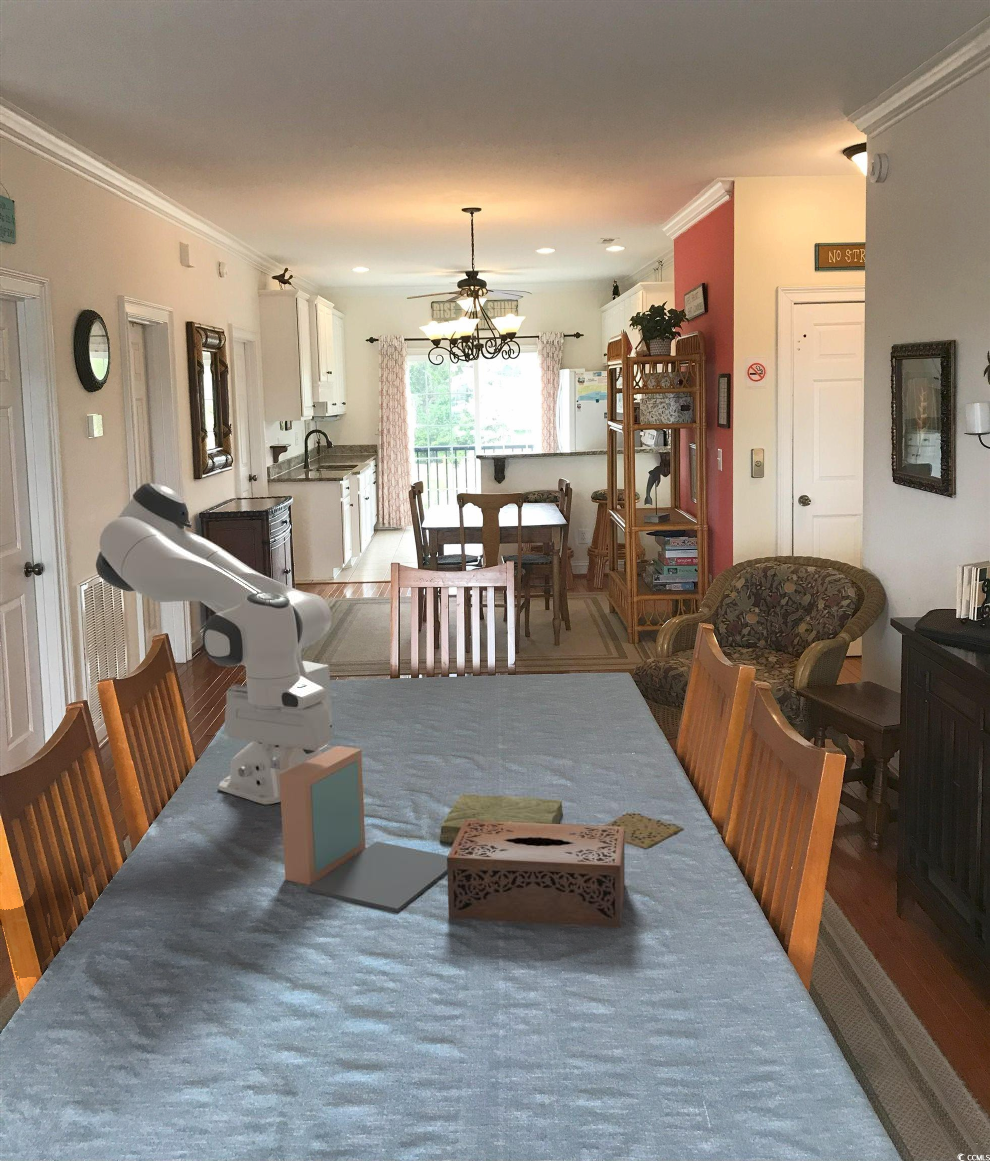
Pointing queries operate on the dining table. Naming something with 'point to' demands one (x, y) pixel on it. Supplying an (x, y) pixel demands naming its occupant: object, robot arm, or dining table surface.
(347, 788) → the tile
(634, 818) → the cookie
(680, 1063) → the dining table surface
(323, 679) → the supplement box
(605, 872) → the tissue box cover
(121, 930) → the dining table surface
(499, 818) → the decorative tile
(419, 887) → the slate mat
